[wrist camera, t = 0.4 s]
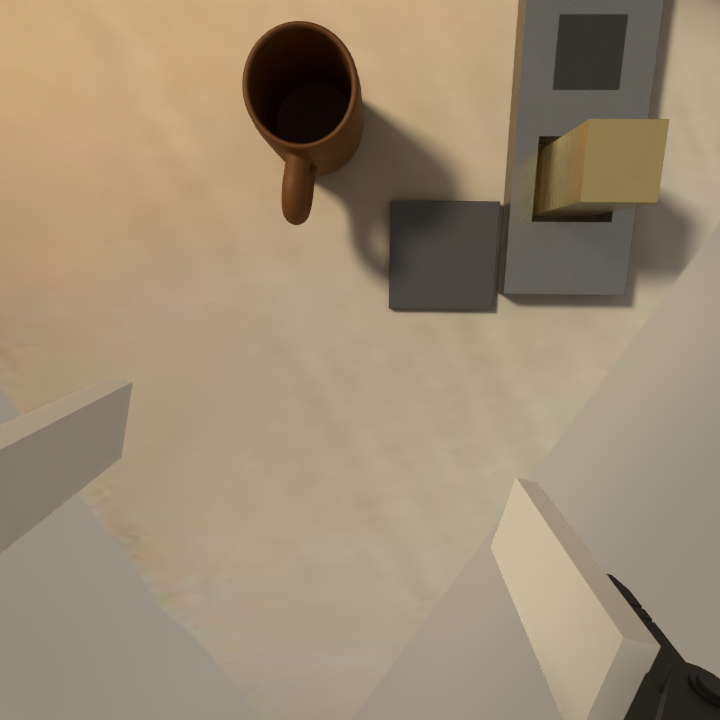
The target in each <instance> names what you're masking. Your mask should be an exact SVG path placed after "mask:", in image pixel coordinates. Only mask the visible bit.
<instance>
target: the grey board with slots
mask: <svg viewBox="0 0 720 720" xmlns="http://www.w3.org/2000/svg"><path fill="white" fill-rule="evenodd" d="M663 3H664V0H519V5H518V19H517V32H516V46H515V59H514V73H513V86H512V100H511V113H510V127H509V140H508V154H507V167H506V181H505V194H504V208H503V221H502V235H501V248H500V262H499V275H498V289H497V292H499V293H503V294H577V295H625V287H626V280H627V272H628V265H629V257H630V250H631V242H632V235H633V228H634V220H635V213H636V207H633V208H628V209H623V210H618V211H613V212H608V213H603V214H601V215H600V222H532V213H533V201H534V190H535V178H536V167H537V155H538V144H539V143H553V142H554V141H556V140H557V139H559V138H560V137H562V136H563V135H565V134H567V133H568V132H570V131H571V130H573V129H574V128H576V127H577V126H579V125H581V124H582V123H584V122H585V121H587V120H588V119H648V116H649V108H650V101H651V93H652V86H653V78H654V71H655V63H656V56H657V48H658V41H659V33H660V26H661V18H662V11H663Z"/></svg>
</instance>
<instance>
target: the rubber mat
mask: <svg viewBox="0 0 720 720" xmlns="http://www.w3.org/2000/svg"><path fill="white" fill-rule="evenodd" d="M499 207H500V202H489V201H391V239H390V281H389V308H392V309H474V310H492V304H493V290H494V276H495V263H496V249H497V235H498V221H499Z"/></svg>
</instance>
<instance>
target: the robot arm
mask: <svg viewBox="0 0 720 720" xmlns="http://www.w3.org/2000/svg"><path fill="white" fill-rule="evenodd" d="M131 388H132V382H131V381H127V380H123V379H119V378H115V377H111V376H109V377H106V378H104V379H102V380H100V381H97V382H95V383H93V384H91V385H88V386H86V387H84V388H82V389H79V390H77V391H75V392H73V393H70V394H68V395H66V396H64V397H61V398H59V399H57V400H55V401H52V402H50V403H48V404H46V405H44V406H41V407H39V408H37V409H35V410H32V411H30V412H28V413H26V414H23V415H21V416H19V417H17V418H14V419H12V420H10V421H8V422H5V423H3V424H1V425H0V553H1V552H2V551H4V550H5V549H6V548H8V547H9V546H10V545H11V544H13V543H14V542H15V541H17V540H18V539H19V538H20V537H22V536H23V535H24V534H25V533H27V532H28V531H29V530H30V529H32V528H33V527H34V526H35V525H37V524H38V523H39V522H40V521H42V520H43V519H44V518H45V517H47V516H48V515H49V514H50V513H52V512H53V511H54V510H56V509H57V508H58V507H59V506H61V505H62V504H63V503H64V502H66V501H67V500H68V499H69V498H71V497H72V496H73V495H74V494H76V493H77V492H78V491H80V490H81V489H82V488H83V487H85V486H86V485H87V484H88V483H90V482H91V481H92V480H93V479H95V478H96V477H97V476H98V475H100V474H101V473H102V472H103V471H105V470H106V469H107V468H109V467H110V466H111V465H112V464H114V463H115V462H116V461H117V460H119V459H120V458H121V454H122V448H123V441H124V434H125V428H126V421H127V414H128V408H129V401H130V395H131ZM491 549H492V552H493V554H494V556H495V558H496V561H497V564H498V566H499V568H500V571H501V573H502V576H503V578H504V580H505V583H506V585H507V587H508V590H509V592H510V594H511V597H512V599H513V602H514V604H515V607H516V609H517V611H518V614H519V616H520V618H521V620H522V623H523V625H524V628H525V630H526V633H527V635H528V638H529V640H530V642H531V645H532V647H533V650H534V652H535V654H536V656H537V659H538V661H539V664H540V666H541V668H542V671H543V673H544V676H545V678H546V681H547V683H548V685H549V688H550V690H551V692H552V695H553V697H554V700H555V702H556V704H557V706H558V709H559V711H560V714H561V716H562V719H563V720H720V679H719V678H718V677H716V676H715V675H714V674H712V673H710V672H708V671H706V670H705V669H703V668H701V667H699V666H696V665H693V664H690V663H687V662H685V661H684V659H683V658H682V657H681V656H680V654H679V653H678V652H677V650H676V649H675V648H674V647H673V646H672V644H671V643H670V642H669V640H668V639H667V638H666V636H665V635H664V634H663V633H662V631H661V630H660V629H659V628H658V626H657V625H656V624H655V623H654V622H652V619H651V617H650V616H649V615H648V613H647V612H646V611H645V610H644V609H642V608H641V607H642V606H641V605H640V604H639V602H638V601H637V599H636V598H635V597H634V596H633V594H632V593H631V592H630V591H629V590H628V589H627V588H626V587H625V586H623V585H622V584H621V583H620V582H619V581H618V580H617V579H616V578H614V577H613V576H612V575H609V574H606V573H605V572H604V570H603V569H602V568H601V566H600V565H599V564H598V562H597V561H596V560H595V558H594V557H593V556H592V554H591V553H590V552H589V550H588V549H587V548H586V546H585V545H584V544H583V542H582V541H581V540H580V539H579V537H578V536H577V534H576V533H575V532H574V530H573V529H572V528H571V526H570V525H569V524H568V522H567V521H566V520H565V518H564V517H563V516H562V514H561V513H560V512H559V510H558V509H557V508H556V507H555V505H554V504H553V502H552V501H551V500H550V498H549V497H548V496H547V494H546V493H545V492H544V490H543V489H542V488H541V486H540V485H539V484H538V483H536V482H532V481H528V480H524V479H520V478H516V479H515V482H514V485H513V488H512V491H511V493H510V496H509V499H508V502H507V504H506V507H505V510H504V513H503V515H502V518H501V521H500V524H499V526H498V529H497V532H496V535H495V537H494V540H493V543H492V546H491Z"/></svg>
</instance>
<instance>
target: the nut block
mask: <svg viewBox="0 0 720 720" xmlns="http://www.w3.org/2000/svg"><path fill="white" fill-rule="evenodd" d="M668 125H669V119H588V120H587V121H585V122H584V123H582V124H581V125H579V126H577V127H576V128H574V129H573V130H571V131H570V132H568V133H567V134H565V135H563V136H562V137H560V138H559V139H557V140H556V141H554V142H553V143H551V144H549V145H548V146H546V147H545V148H543V149H542V150H540V151H539V152H538V157H537V168H536V180H535V191H534V202H533V214H532V215H570V216H593V215H598V214H603V213H608V212H613V211H618V210H623V209H628V208H633V207H637V206H642V205H647V204H652V203H657V201H658V194H659V188H660V181H661V174H662V167H663V160H664V153H665V146H666V139H667V132H668Z"/></svg>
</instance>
